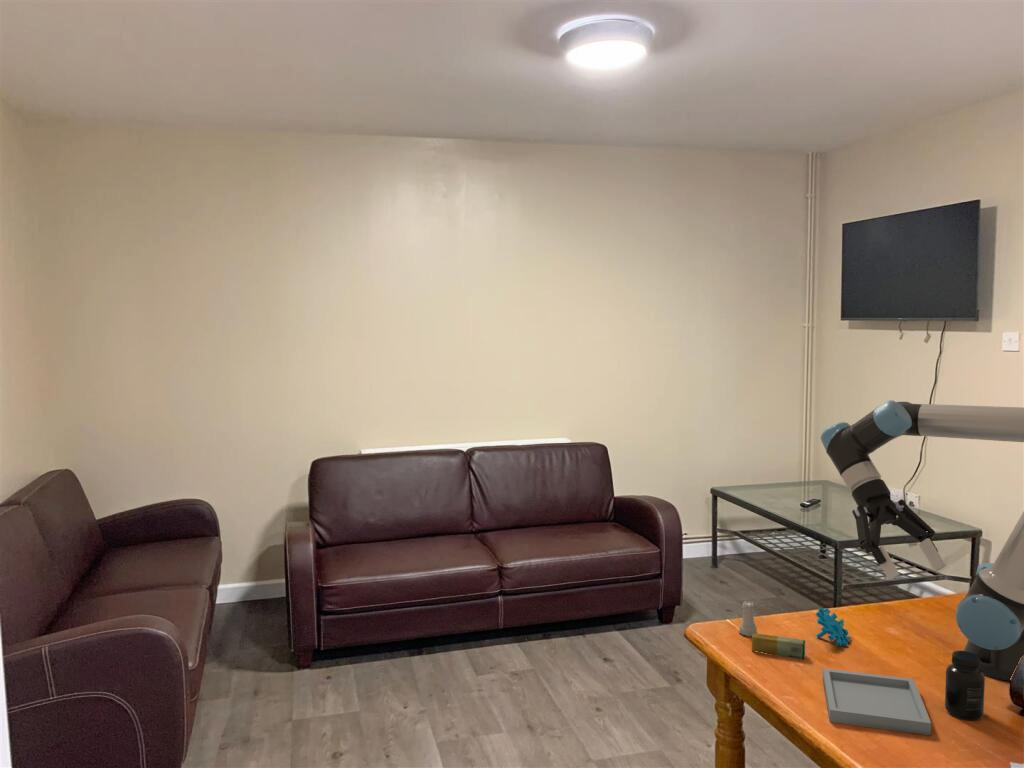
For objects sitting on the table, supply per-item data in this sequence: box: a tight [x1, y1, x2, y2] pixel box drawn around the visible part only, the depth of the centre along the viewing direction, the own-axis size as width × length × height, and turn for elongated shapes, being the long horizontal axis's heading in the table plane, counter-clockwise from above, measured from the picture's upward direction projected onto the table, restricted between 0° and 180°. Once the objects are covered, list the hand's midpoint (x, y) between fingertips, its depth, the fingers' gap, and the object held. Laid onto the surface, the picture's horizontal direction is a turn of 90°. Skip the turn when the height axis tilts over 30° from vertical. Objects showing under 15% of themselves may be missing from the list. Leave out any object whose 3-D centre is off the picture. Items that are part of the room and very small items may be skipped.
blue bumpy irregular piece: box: [815, 607, 851, 647], centre depth 192 cm, size 11×6×10 cm
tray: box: [822, 668, 932, 736], centre depth 161 cm, size 18×18×2 cm
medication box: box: [751, 633, 806, 661], centre depth 185 cm, size 12×3×4 cm, turn 67°
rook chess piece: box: [738, 600, 758, 637], centre depth 196 cm, size 4×4×8 cm
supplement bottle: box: [944, 650, 986, 721], centre depth 158 cm, size 7×7×12 cm
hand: (917, 573), depth 166 cm, fingers open, 13 cm apart
